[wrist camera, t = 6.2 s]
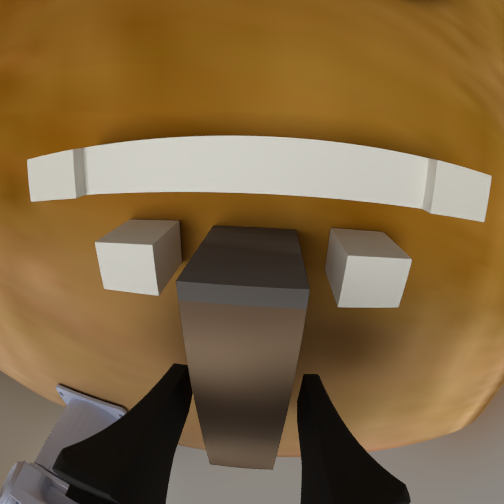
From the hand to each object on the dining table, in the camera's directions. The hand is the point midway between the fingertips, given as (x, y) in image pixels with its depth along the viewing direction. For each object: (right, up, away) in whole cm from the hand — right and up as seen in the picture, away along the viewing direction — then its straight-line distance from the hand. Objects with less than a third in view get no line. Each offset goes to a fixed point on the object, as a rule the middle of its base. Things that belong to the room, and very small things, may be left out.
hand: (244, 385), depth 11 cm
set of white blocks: (0, +8, 0) cm, 8 cm away
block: (0, +1, +3) cm, 3 cm away
